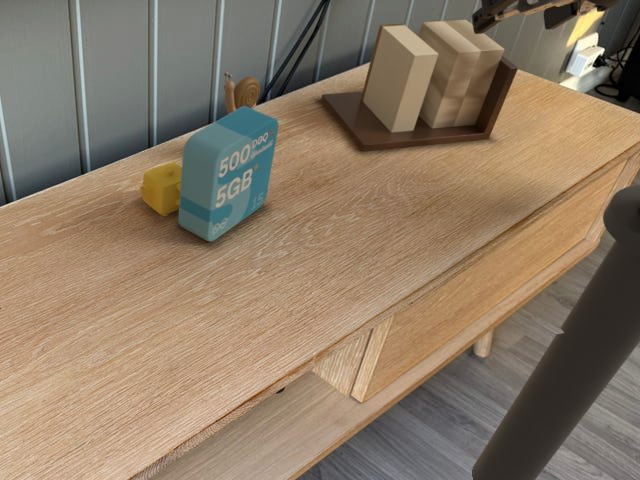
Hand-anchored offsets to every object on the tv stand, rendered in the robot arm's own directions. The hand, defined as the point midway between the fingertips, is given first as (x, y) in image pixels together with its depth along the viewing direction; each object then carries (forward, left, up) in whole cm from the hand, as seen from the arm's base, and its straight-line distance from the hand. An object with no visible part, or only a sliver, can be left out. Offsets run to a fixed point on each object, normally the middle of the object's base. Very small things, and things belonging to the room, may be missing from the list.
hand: (511, 22), depth 75 cm
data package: (+29, -1, -22) cm, 37 cm away
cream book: (-2, -20, -21) cm, 29 cm away
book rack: (-5, -20, -22) cm, 30 cm away
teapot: (+35, -4, -22) cm, 42 cm away
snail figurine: (+23, -15, -22) cm, 36 cm away
